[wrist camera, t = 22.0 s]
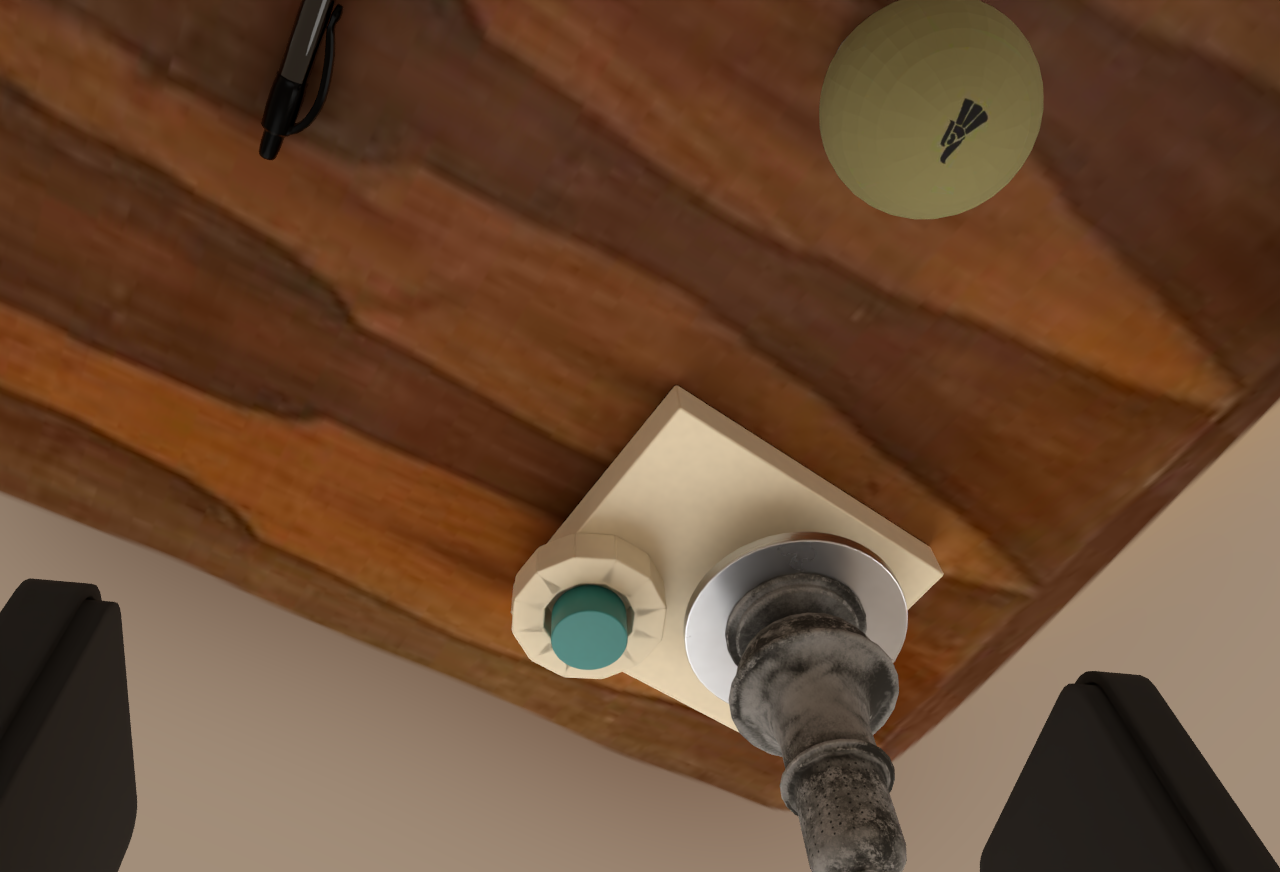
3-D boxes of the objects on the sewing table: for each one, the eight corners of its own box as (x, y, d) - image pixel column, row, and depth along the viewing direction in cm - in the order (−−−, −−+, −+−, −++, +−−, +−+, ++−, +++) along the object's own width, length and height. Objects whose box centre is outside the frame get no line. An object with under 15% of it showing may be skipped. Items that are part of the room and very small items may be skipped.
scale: (489, 580, 43) (482, 637, 40) (657, 371, 39) (663, 416, 36) (755, 721, 47) (767, 781, 44) (931, 546, 43) (957, 600, 40)
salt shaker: (684, 637, 40) (722, 922, 29) (800, 538, 38) (885, 805, 27) (791, 713, 42) (862, 1005, 31) (906, 624, 40) (1023, 902, 29)
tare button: (537, 622, 40) (535, 649, 39) (579, 572, 39) (579, 598, 38) (598, 654, 41) (598, 681, 40) (641, 606, 40) (643, 632, 39)
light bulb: (799, -49, 32) (879, -9, 24) (974, -20, 33) (1116, 30, 24) (760, 135, 35) (820, 233, 26) (924, 159, 36) (1036, 263, 27)
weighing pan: (638, 647, 41) (639, 657, 40) (779, 491, 38) (782, 501, 37) (806, 736, 43) (809, 747, 43) (950, 598, 40) (955, 608, 40)
